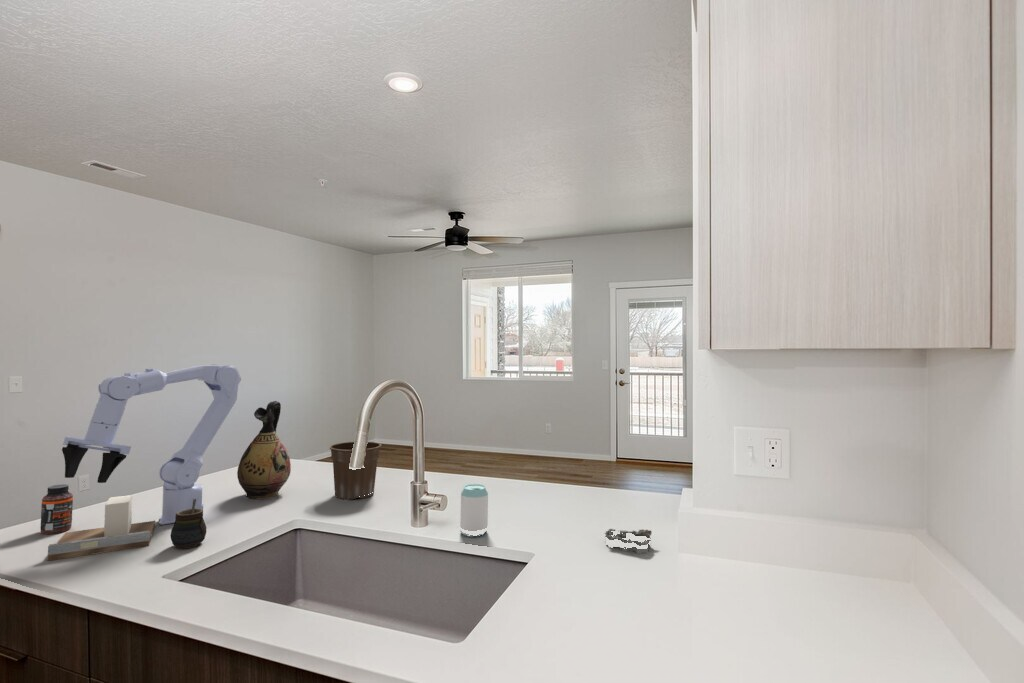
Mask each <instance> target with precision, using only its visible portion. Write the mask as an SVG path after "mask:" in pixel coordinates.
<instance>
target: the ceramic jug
mask: <svg viewBox="0 0 1024 683" xmlns="http://www.w3.org/2000/svg"><path fill="white" fill-rule="evenodd" d="M281 405H282V404H281V403H280V402H279V401H277V400H274V401H270V402H268V404H267V405H266V409H265V408H263V407H261V406H260V407H258V408H256V410H255V411H254V413H253V414H254V418H255V419H256V420H259V421H260V422H262V427H261V429H260V430H259V432H258V434H257V435H256V436H255V437H254V438H253V440H252V441H251V442H250V443H249V445H248V446H247V447H246V449H245V451H244V452H243V454H242V456H241V458H240V460H239V464H238V465H237V466H238V467H237V471H236V472H237V473H236V474H237V480H238V483H239V485H240V486H241V489H243V490H244V492H245V494H246V495H245V497H246V498H248V499H249V500H257V499H259V500H262V499H263V500H264V499H270V498H273V497H275V496H277V495H278V494H279V492H280V490H281V489H282V487H283V486H284V485H285V484H286V483H287V481H288V480H289V478H290V476H291V471H292V469H291V468H292V466H291V459H290V455H289V451H288V450H287V448H286V447H285V445H284V443H283V442H282V440H281V439H280V437H279V436H278V434H277V427H278V422H279V420H280V415H281V408H282V407H281Z"/></svg>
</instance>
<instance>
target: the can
mask: <svg viewBox="0 0 1024 683" xmlns="http://www.w3.org/2000/svg"><path fill="white" fill-rule="evenodd" d="M488 512H489V492H488V490H487V488H486V485H483V484H478V483H473V484H466V485H464V486H463V489H462V491H461V492H460V520H459V521H460V523H459V524H460V525H459V526H460V527H461V528H462V529H464V530H468V531H477V530H482V529H485V528H487V526H488V525H489V524H488V523H489V520H488V519H489V518H488V517H489V513H488ZM460 527H459V528H460ZM488 527H489V526H488ZM459 532H460V533H461V534H462V535H463V536H465V537H469V538H474V537H473V535H470V536H467V535H469V534H466V533H463V532H462V531H461V530H460V529H459ZM479 535H482V534H479ZM479 535H477V536H479ZM482 536H483V535H482Z"/></svg>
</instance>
